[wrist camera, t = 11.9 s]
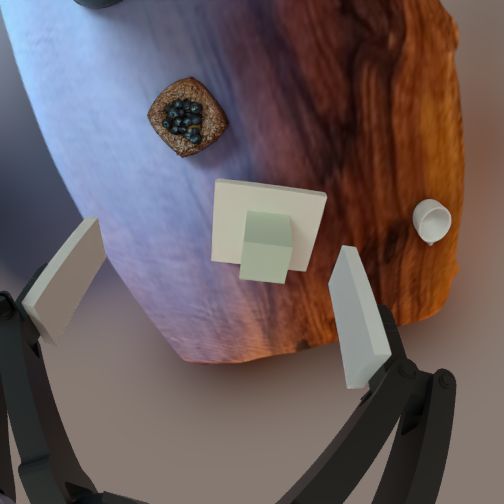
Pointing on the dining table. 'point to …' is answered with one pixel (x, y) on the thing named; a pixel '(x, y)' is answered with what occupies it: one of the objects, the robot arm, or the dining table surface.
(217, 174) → the dining table surface
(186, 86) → the pastry
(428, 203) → the teacup
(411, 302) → the dining table surface
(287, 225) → the sage block
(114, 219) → the dining table surface
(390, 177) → the dining table surface
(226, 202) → the serving stand
